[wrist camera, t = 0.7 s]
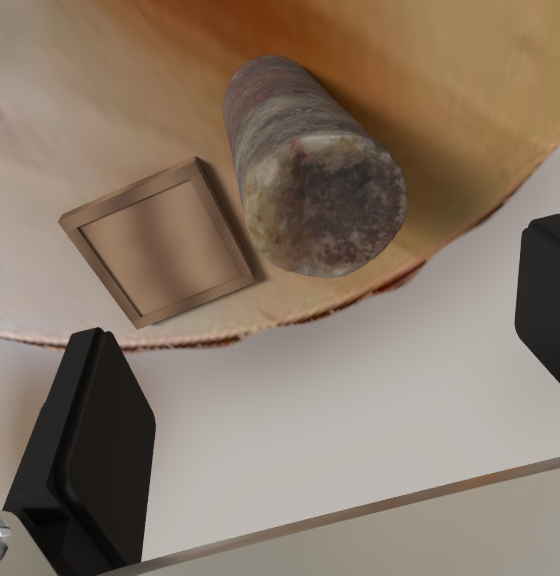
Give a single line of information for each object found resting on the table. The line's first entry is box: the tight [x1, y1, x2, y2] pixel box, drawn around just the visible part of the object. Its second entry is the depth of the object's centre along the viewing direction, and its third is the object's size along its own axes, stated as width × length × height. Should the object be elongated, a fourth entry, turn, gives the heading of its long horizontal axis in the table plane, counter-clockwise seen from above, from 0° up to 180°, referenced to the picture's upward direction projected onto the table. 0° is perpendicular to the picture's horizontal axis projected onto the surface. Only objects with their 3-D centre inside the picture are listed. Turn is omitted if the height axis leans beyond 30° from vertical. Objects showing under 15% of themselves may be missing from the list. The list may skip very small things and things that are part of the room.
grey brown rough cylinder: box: [223, 55, 408, 278], centre depth 29 cm, size 8×7×20 cm
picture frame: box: [58, 156, 256, 330], centre depth 42 cm, size 12×12×2 cm
